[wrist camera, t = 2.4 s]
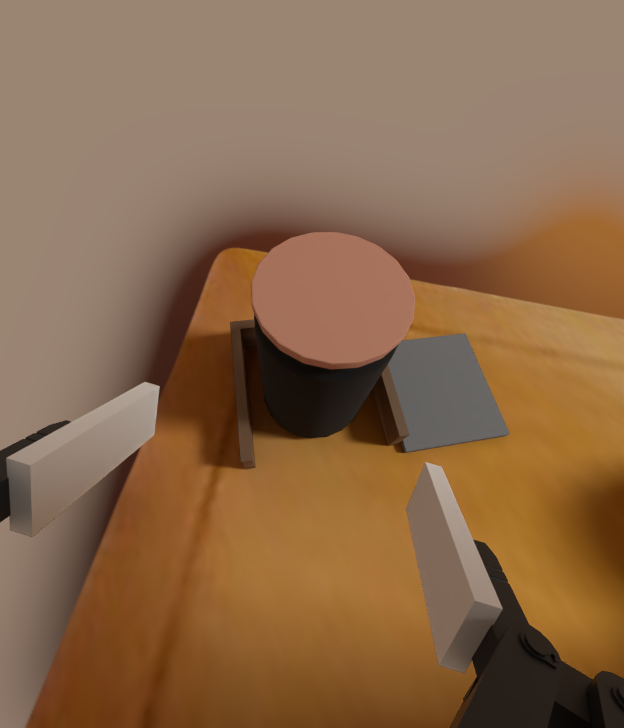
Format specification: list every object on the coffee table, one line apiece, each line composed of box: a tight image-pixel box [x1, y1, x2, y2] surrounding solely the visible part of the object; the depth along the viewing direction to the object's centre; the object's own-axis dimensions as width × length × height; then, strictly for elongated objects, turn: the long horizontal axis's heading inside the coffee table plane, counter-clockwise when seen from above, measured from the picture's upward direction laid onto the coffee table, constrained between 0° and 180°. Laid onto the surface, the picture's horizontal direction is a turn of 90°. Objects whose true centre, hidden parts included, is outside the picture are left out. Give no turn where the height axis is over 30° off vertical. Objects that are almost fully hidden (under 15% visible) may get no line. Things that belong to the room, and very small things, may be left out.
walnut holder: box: [230, 320, 410, 469], centre depth 35 cm, size 16×15×4 cm
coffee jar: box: [251, 232, 415, 438], centre depth 29 cm, size 11×11×18 cm
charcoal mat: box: [388, 334, 510, 453], centre depth 38 cm, size 12×13×1 cm
